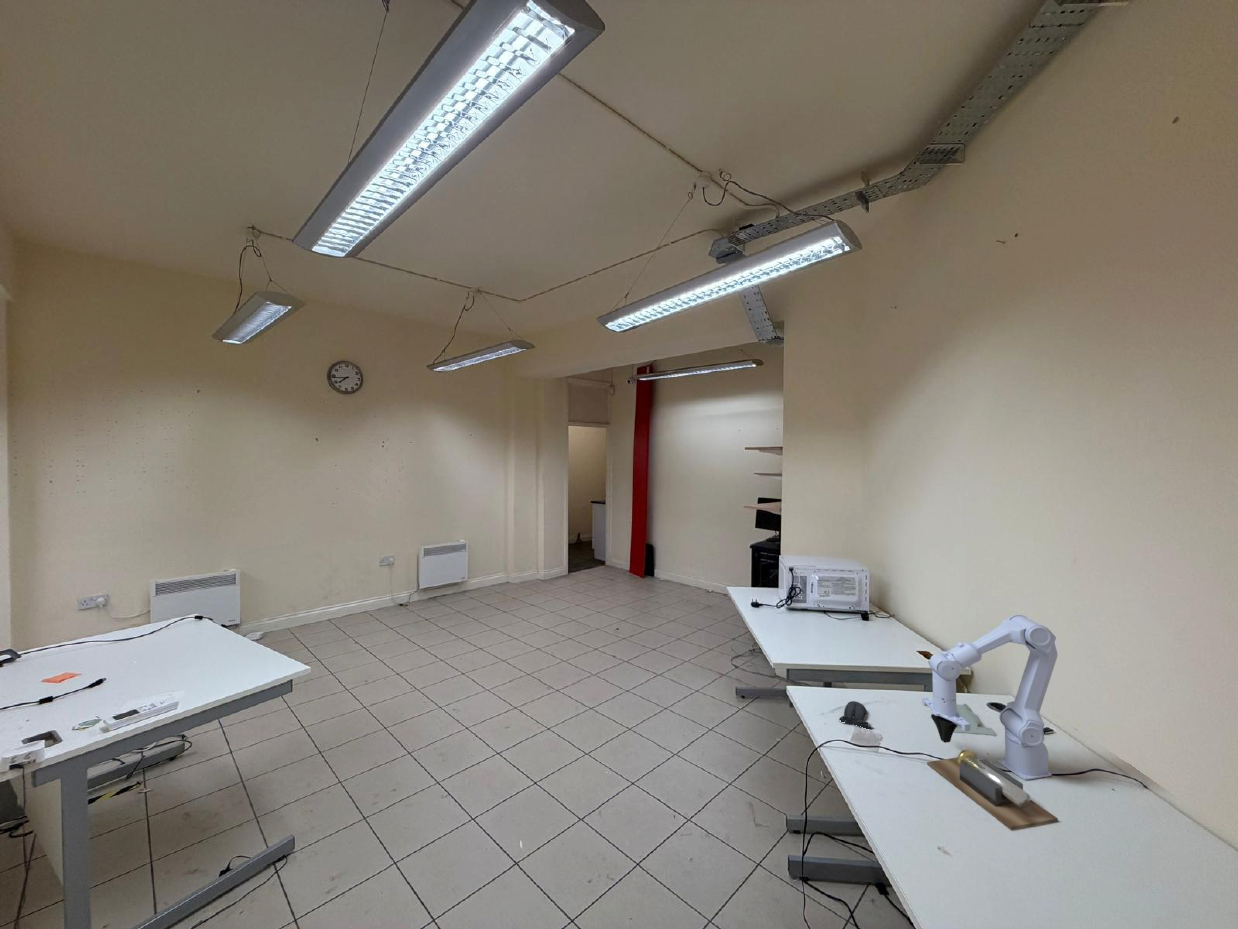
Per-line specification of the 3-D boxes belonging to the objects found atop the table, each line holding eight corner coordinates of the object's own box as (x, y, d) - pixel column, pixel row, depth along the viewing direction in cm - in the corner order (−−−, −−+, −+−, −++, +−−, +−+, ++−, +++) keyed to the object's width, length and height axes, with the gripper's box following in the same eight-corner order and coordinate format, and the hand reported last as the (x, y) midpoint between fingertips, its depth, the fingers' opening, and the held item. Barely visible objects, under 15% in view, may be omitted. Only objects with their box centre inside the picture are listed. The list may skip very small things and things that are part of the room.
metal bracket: (927, 696, 159) (973, 699, 157) (925, 709, 161) (971, 712, 158) (948, 730, 146) (1000, 734, 143) (946, 744, 147) (997, 748, 145)
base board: (967, 758, 134) (967, 756, 134) (1057, 821, 110) (1057, 818, 110) (927, 764, 132) (927, 762, 132) (1011, 830, 108) (1011, 827, 108)
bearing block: (985, 775, 126) (985, 759, 126) (1023, 801, 116) (1022, 784, 116) (959, 779, 124) (959, 763, 124) (995, 806, 114) (995, 788, 114)
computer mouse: (873, 711, 161) (873, 701, 161) (872, 733, 148) (871, 721, 148) (842, 704, 166) (842, 694, 166) (838, 724, 154) (838, 713, 153)
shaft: (973, 767, 128) (973, 747, 128) (1033, 810, 112) (1033, 787, 112) (955, 770, 127) (955, 749, 127) (1014, 814, 111) (1013, 790, 111)
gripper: (913, 685, 140) (914, 728, 140) (955, 710, 125) (956, 758, 125) (932, 683, 141) (933, 725, 141) (976, 707, 127) (977, 755, 127)
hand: (945, 741), depth 133 cm, fingers closed
